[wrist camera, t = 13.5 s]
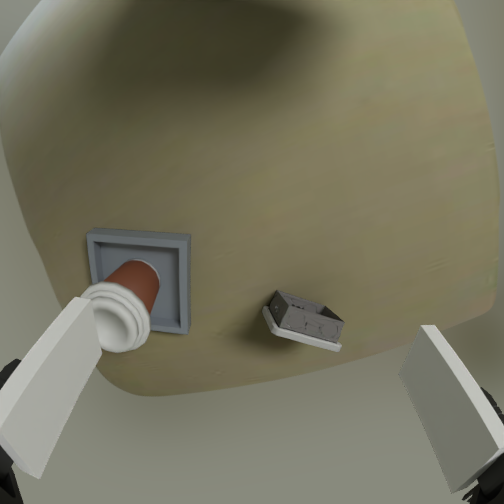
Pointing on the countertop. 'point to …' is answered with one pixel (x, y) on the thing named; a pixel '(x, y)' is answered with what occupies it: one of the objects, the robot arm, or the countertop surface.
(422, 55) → the countertop surface
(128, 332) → the coffee cup
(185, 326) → the dock tray
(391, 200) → the countertop surface
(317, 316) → the electrical switch
